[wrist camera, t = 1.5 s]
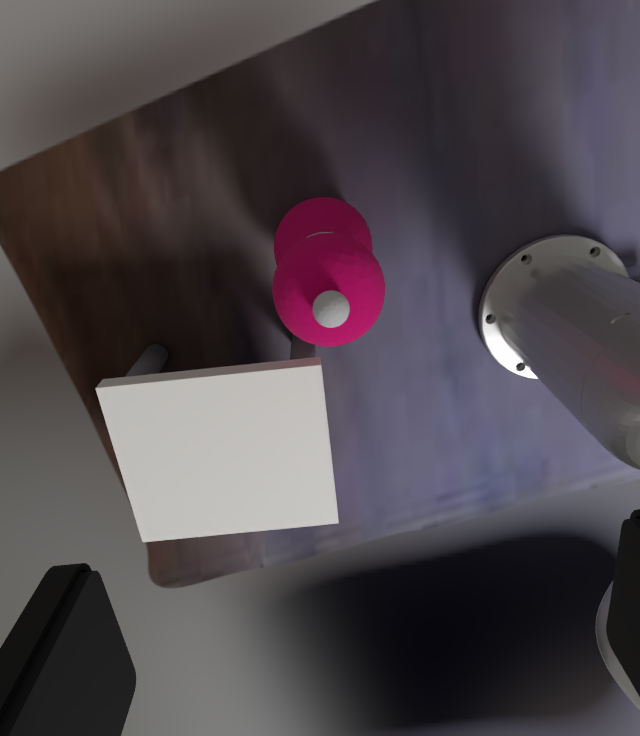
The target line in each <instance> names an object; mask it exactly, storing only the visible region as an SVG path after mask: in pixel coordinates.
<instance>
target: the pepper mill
mask: <svg viewBox="0 0 640 736" xmlns="http://www.w3.org/2000/svg"><path fill="white" fill-rule="evenodd" d="M274 254H275V259H276V264H277V269H276V271H275V274H274V279H273V287H272V292H273V300H274V304H275V308H276V311H277V313H278V315H279V317H280V319H281V321H282V322H283V323H284V325H285V326H286V327H287V328H288V329H289V330H290V331H291V332H292V333H293V334H294V335H295V336H297V337H298V338H300V339H302V340H303V341H306V342H308V343H311V344H315V345H319V346H330V347H331V346H339V345H343V344H346V343H349V342H352V341H354V340H356V339H358V338H359V337H361V336H362V335H363V334H364V333H366V332H367V331H368V330H369V329H370V328H371V326H372V325H373V324H374V323H375V321H376V320H377V318H378V316H379V314H380V312H381V310H382V306H383V302H384V295H385V282H384V276H383V273H382V270H381V267H380V265H379V263H378V261H377V260H376V258H375V257H374V255H373V254H372V240H371V235H370V231H369V228H368V226H367V224H366V222H365V220H364V218H363V217H362V216H361V214H360V213H359V212H358V211H357V210H356V209H355V208H354V207H352V206H351V205H349V204H348V203H346V202H344V201H341V200H339V199H335V198H330V197H316V198H311V199H308V200H305V201H303V202H301V203H299V204H297V205H296V206H294V207H293V208H292V209H291V210H290V211H289V212H287V213H286V215H285V216H284V218H283V219H282V220H281V222H280V224H279V226H278V228H277V231H276V235H275V239H274Z"/></svg>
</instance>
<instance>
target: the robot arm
mask: <svg viewBox="0 0 640 736" xmlns="http://www.w3.org/2000/svg"><path fill="white" fill-rule="evenodd" d="M591 249H592V251H591V252H590V250H591ZM524 255H525V259H524V260H521V258H522V257H523V256H524ZM489 314H490V317H489V318H486V317H487V316H488V315H489ZM478 323H479V330H480V334H481V337H482V340H483V343H484V345H485V346H486V348H487V350H488V351H489V353H490V354H491V355H492V357H493V358H494V359H495V360H496V361H497V362H498V363H499V364H500V365H502V366H503V367H504V368H505V369H507V370H508V371H510V372H512V373H514V374H516V375H519V376H523V377H526V378H530V379H539V380H540V381H541V382H542V383H543V384H544V385H545V386H546V387H547V388H548V389H549V390H550V391H551V393H552V394H553V395H554V396H555V397H556V398H557V399H558V400H559V401H560V402H561V403H562V404H563V405H564V406H565V407H566V408H567V409H568V410H569V411H570V413H571V414H572V415H573V416H574V417H575V418H576V419H577V420H578V421H579V422H580V423H581V424H582V425H583V426H584V427H585V428H586V429H587V430H588V431H589V433H590V434H591V435H592V436H593V437H594V438H596V439H597V441H598V442H599V443H600V444H601V445H602V446H603V447H604V448H605V449H606V450H607V451H608V452H610V453H611V454H612V455H613V456H614V457H616V458H617V459H619V460H620V461H622V462H623V463H625V464H627V465H629V466H631V467H633V468H635V469H638V470H640V283H639V282H637V281H634V280H632V279H630V278H629V275H628V273H627V270H626V268H625V266H624V264H623V262H622V261H621V260H620V259H619V257H618V256H617V255H616V254H615V253H614V252H613V251H612V250H610V249H609V248H608V247H606V246H605V245H604V244H602V243H599V242H597V241H595V240H592V239H590V238H586V237H583V236H579V235H568V234H562V235H553V236H548V237H544V238H541V239H538V240H535V241H533V242H531V243H529V244H527V245H525V246H523V247H521V248H519V249H518V250H517V251H515V252H514V253H512V254H511V255H510V256H508V257H507V258H506V259H505V260H504V261H503V262H502V263H501V265H500V266H499V267H498V268H497V269H496V270H495V272H494V273H493V275H492V276H491V278H490V279H489V281H488V283H487V285H486V287H485V289H484V291H483V294H482V297H481V301H480V305H479V314H478ZM518 363H519V364H518ZM517 364H518V365H517ZM596 636H597V641H598V646H599V649H600V652H601V655H602V657H603V659H604V662H605V664H606V666H607V667H608V669H609V671H610V673H611V674H612V676H613V677H614V679H615V680H616V682H617V683H618V685H619V686H620V687H621V689H622V690H623V691H624V692H625V694H626V695H627V696H628V697H629V698H630V700H631V701H632V702H633V703H634V704H635V705H636V706H637V707H638V708H639V710H640V509H639V510H634V511H633V512H632V514H631V517H630V519H627V520H624V521H623V524H622V528H621V535H620V541H619V547H618V554H617V560H616V566H615V573H614V580H613V582H612V583H611V585H610V586H609V588H608V590H607V592H606V593H605V595H604V597H603V600H602V602H601V604H600V606H599V610H598V614H597V618H596ZM135 686H136V672H135V668H134V666H133V663H132V660H131V657H130V654H129V652H128V649H127V646H126V643H125V641H124V638H123V636H122V633H121V630H120V627H119V625H118V622H117V619H116V616H115V614H114V611H113V608H112V605H111V603H110V600H109V598H108V595H107V592H106V589H105V586H104V583H103V581H102V578H101V575H100V574H99V572H98V571H92V570H91V568H90V566H89V565H87V564H85V563H81V564H71V565H61V566H53V567H51V568H50V569H49V570H48V571H47V572H46V574H45V575H44V577H43V579H42V580H41V582H40V584H39V585H38V587H37V589H36V590H35V592H34V594H33V595H32V597H31V599H30V600H29V602H28V604H27V605H26V607H25V609H24V610H23V612H22V613H21V615H20V617H19V618H18V620H17V622H16V623H15V625H14V627H13V628H12V630H11V632H10V633H9V635H8V637H7V638H6V640H5V642H4V643H3V645H2V646H1V648H0V736H121V733H122V730H123V727H124V724H125V721H126V717H127V714H128V711H129V708H130V705H131V701H132V698H133V695H134V692H135Z"/></svg>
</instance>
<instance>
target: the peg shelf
mask: <svg viewBox="0 0 640 736" xmlns="http://www.w3.org/2000/svg"><path fill="white" fill-rule="evenodd" d="M167 359H168V352H167V350H166V349H165V348H164V347H163V346H162V345H159V344H152V345H149V346H148V347H147V348H146V350H145V351H144V352H143V354H142V355H141V356H140V357H139V359H138V360H137V361H136V363H135V364H134V365H133V367H132V368H131V369H130V371H129V372H128V373H127V375H126V376H125V377H120V378H110V379H103V380H102V381H101V382H100V383H99V384H98V386H97V387H96V388H95V389H96V392H97V395H98V399H99V402H100V405H101V408H102V412H103V415H104V418H105V421H106V425H107V428H108V431H109V434H110V438H111V441H112V444H113V447H114V451H115V454H116V457H117V460H118V464H119V467H120V470H121V473H122V477H123V480H124V483H125V486H126V490H127V493H128V496H129V499H130V503H131V506H132V509H133V512H134V516H135V519H136V522H137V525H138V529H139V532H140V535H141V538H142V541H143V542H150V541H160V540H171V539H181V538H191V537H202V536H212V535H223V534H233V533H243V532H254V531H264V530H275V529H285V528H295V527H306V526H316V525H327V524H337V523H339V522H338V510H337V501H336V492H335V483H334V474H333V465H332V456H331V447H330V438H329V429H328V420H327V411H326V402H325V393H324V384H323V375H322V367H321V358H320V357H315V344H311V343H308V342H306V341H303V340H302V339H300V338H298V337H297V336H295V335H294V334H293V335H292V342H291V354H290V360H284V361H274V362H265V363H255V364H245V365H236V366H226V367H216V368H207V369H197V370H187V371H178V372H168V373H159V372H160V370H161V369H162V367H163V365H164V364H165V362H166V361H167Z"/></svg>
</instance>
